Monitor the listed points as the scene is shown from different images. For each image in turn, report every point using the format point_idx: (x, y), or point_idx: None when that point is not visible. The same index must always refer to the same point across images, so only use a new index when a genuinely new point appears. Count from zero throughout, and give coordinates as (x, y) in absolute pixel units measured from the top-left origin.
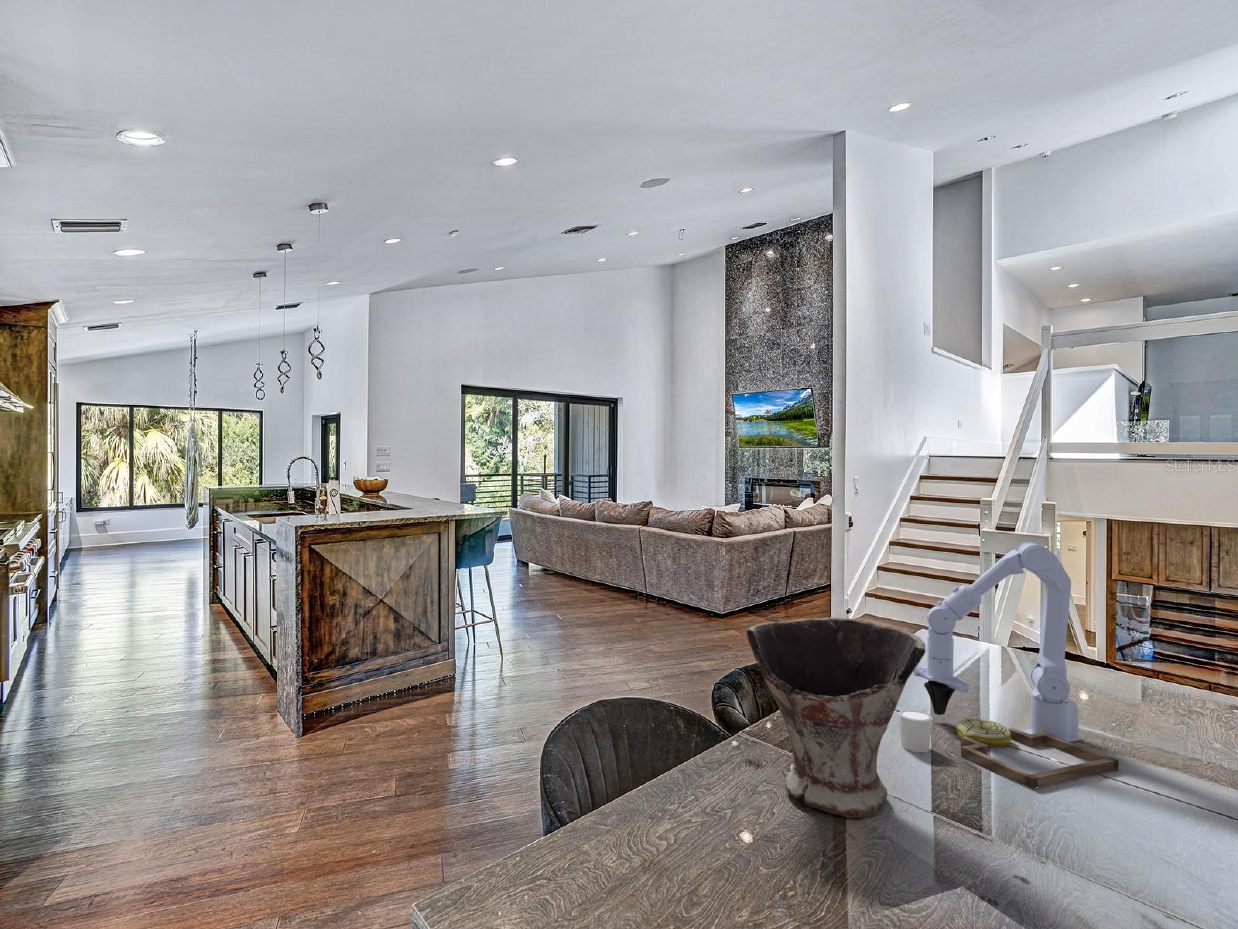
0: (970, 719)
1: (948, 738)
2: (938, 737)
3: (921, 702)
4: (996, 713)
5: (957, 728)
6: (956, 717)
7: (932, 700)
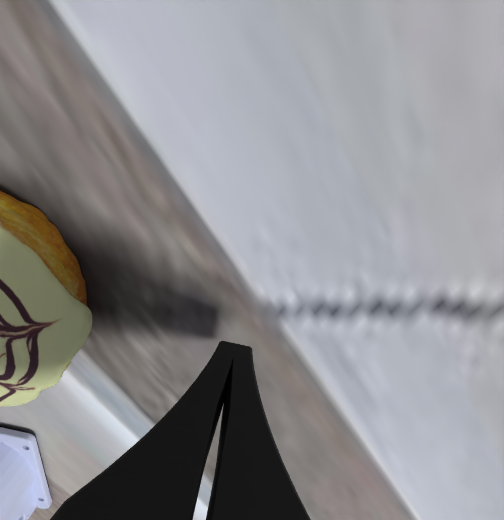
0: (4, 347)
1: (52, 155)
2: (79, 112)
3: (415, 463)
4: None
5: (6, 224)
6: None
7: (245, 408)
